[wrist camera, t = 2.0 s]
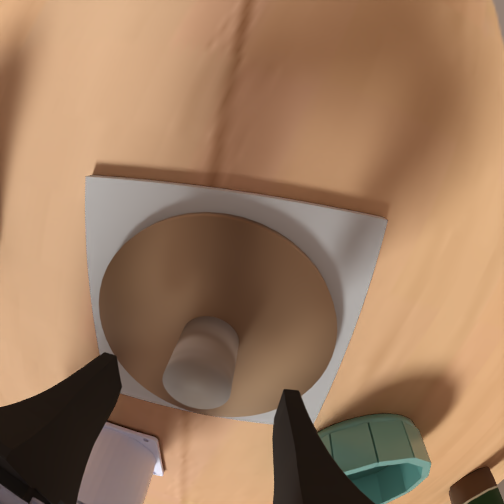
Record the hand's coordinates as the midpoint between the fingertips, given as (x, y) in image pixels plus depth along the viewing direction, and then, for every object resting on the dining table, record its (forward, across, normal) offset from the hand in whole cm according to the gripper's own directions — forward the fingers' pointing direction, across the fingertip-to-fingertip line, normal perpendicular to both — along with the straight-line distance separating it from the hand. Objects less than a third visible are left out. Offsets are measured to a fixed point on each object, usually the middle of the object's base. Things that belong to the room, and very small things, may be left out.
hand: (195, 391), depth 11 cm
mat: (+5, 0, 0) cm, 5 cm away
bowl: (+5, -13, +12) cm, 19 cm away
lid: (+5, 0, 0) cm, 5 cm away
